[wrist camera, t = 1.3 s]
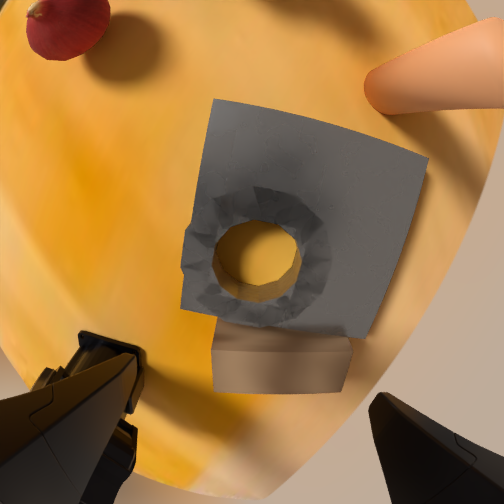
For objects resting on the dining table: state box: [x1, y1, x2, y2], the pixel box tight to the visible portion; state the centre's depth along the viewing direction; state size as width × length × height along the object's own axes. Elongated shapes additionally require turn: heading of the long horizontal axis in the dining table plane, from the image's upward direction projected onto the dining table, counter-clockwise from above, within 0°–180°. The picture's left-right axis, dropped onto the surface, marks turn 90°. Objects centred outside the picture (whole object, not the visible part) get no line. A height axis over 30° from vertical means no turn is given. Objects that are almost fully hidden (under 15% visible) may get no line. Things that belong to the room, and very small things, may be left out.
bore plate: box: [180, 99, 429, 339], centre depth 20 cm, size 14×14×2 cm
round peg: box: [364, 17, 504, 115], centre depth 11 cm, size 4×4×12 cm
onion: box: [26, 0, 110, 61], centre depth 12 cm, size 6×6×8 cm
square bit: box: [211, 317, 353, 394], centre depth 23 cm, size 10×4×4 cm, turn 88°
